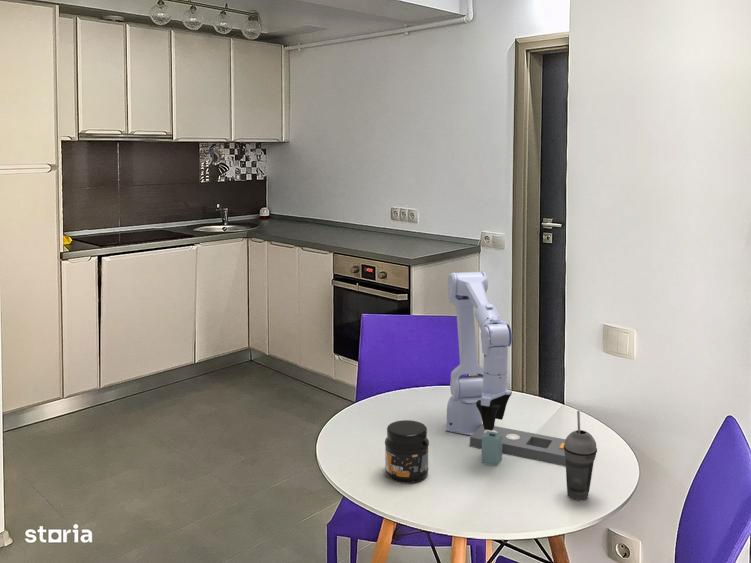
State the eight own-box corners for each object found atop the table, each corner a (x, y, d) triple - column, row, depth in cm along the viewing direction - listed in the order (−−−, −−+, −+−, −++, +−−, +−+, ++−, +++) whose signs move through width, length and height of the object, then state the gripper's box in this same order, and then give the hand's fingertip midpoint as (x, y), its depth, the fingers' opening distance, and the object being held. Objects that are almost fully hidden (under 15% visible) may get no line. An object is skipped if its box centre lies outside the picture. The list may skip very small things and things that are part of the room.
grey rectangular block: (481, 462, 178) (482, 435, 177) (486, 456, 182) (487, 429, 180) (496, 466, 177) (497, 438, 175) (501, 459, 180) (502, 432, 179)
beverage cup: (576, 507, 157) (581, 421, 153) (554, 492, 163) (558, 410, 159) (601, 499, 160) (606, 415, 156) (578, 485, 167) (582, 404, 163)
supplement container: (376, 475, 172) (375, 428, 170) (402, 460, 180) (402, 415, 178) (411, 489, 165) (411, 440, 163) (437, 472, 173) (437, 426, 171)
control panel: (469, 446, 188) (470, 435, 188) (482, 432, 197) (482, 422, 196) (569, 466, 176) (570, 455, 176) (578, 450, 185) (578, 440, 184)
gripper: (501, 383, 167) (500, 437, 169) (519, 365, 179) (517, 416, 182) (473, 378, 170) (471, 432, 172) (492, 361, 182) (491, 412, 185)
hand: (493, 424), depth 177 cm, fingers open, 7 cm apart
